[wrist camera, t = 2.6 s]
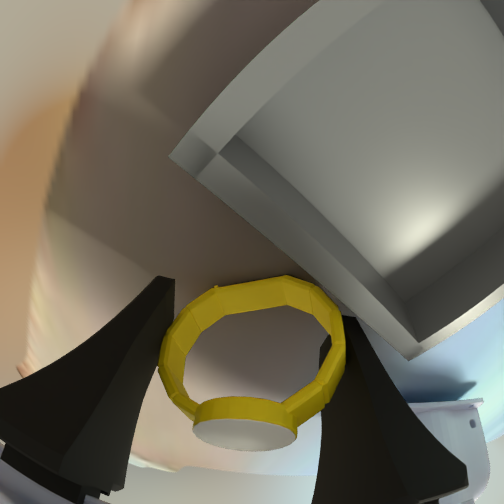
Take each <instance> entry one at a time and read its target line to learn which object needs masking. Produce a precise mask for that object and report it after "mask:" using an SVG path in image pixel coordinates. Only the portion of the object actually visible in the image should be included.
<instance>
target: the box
mask: <svg viewBox="0 0 504 504" xmlns="http://www.w3.org/2000/svg"><path fill="white" fill-rule="evenodd" d="M168 157H169V158H170V159H171V160H172V161H174V162H175V163H176V164H177V165H179V166H180V167H181V168H182V169H184V170H185V171H186V172H187V173H189V174H190V175H191V176H192V177H193V178H195V179H196V180H197V181H198V182H200V183H201V184H202V185H203V186H205V187H206V188H207V189H208V190H209V191H211V192H212V193H213V194H214V195H216V196H217V197H218V198H219V199H220V200H222V201H223V202H224V203H225V204H226V205H228V206H229V207H230V208H231V209H233V210H234V211H235V212H236V213H237V214H239V215H240V216H241V217H242V218H243V219H245V220H246V221H247V222H248V223H249V224H251V225H252V226H253V227H254V228H255V229H257V230H258V231H259V232H260V233H261V234H263V235H264V236H265V237H266V238H267V239H269V240H270V241H271V242H272V243H273V244H274V245H276V246H277V247H278V248H279V249H280V250H282V251H283V252H284V253H285V254H286V255H287V256H289V257H290V258H291V259H292V260H293V261H295V262H296V263H297V264H298V265H299V266H300V267H302V268H303V269H304V270H305V271H306V272H307V273H309V274H310V275H311V276H312V277H313V278H314V279H316V280H317V281H318V282H319V283H320V284H321V285H323V286H324V287H325V288H326V289H327V290H328V291H330V292H331V293H332V294H333V295H334V296H335V297H336V298H338V299H339V300H340V301H341V302H342V303H343V304H345V305H346V306H347V307H348V308H349V309H350V310H351V311H353V312H354V313H355V314H356V315H357V316H358V317H359V318H361V319H362V320H363V321H364V322H365V323H366V324H367V325H368V326H370V327H371V328H372V329H373V330H374V331H375V332H376V333H378V334H379V335H380V336H381V337H382V338H383V339H384V340H385V341H387V342H388V343H389V344H390V345H391V346H392V347H393V348H394V349H396V350H397V351H398V352H399V353H400V354H401V355H402V356H403V357H404V358H406V359H407V360H408V361H410V360H412V359H413V358H415V357H417V356H419V355H420V354H422V353H424V352H426V351H427V350H429V349H431V348H432V347H434V346H436V345H437V344H439V343H440V342H442V341H444V340H445V339H447V338H448V337H450V336H451V335H453V334H454V333H456V332H458V331H459V330H461V329H462V328H463V327H465V326H466V325H468V324H469V323H471V322H472V321H474V320H475V319H476V318H478V317H479V316H480V315H482V314H483V313H485V312H486V311H487V310H489V309H490V308H491V307H493V306H494V305H495V304H496V303H498V302H499V301H500V300H501V299H503V298H504V0H319V1H318V2H317V3H315V4H314V5H313V6H312V7H310V8H309V9H308V10H307V11H305V12H304V13H303V14H302V15H301V16H299V17H298V18H297V19H296V20H295V21H294V22H292V23H291V24H290V25H289V26H288V27H287V28H286V29H285V30H283V31H282V32H281V33H280V34H279V35H278V36H277V37H276V38H275V39H274V40H272V41H271V42H270V43H269V44H268V45H267V46H266V47H265V48H264V49H263V50H262V51H261V52H260V53H259V54H258V55H257V56H256V57H255V58H254V59H253V60H252V61H251V62H250V63H249V64H248V65H247V66H246V67H245V68H244V69H243V70H242V71H241V72H240V73H239V74H238V75H237V76H236V77H235V78H234V79H233V80H232V81H231V82H230V84H229V85H228V86H227V87H226V88H225V89H224V90H223V91H222V92H221V93H220V94H219V96H218V97H217V98H216V99H215V100H214V101H213V102H212V103H211V105H210V106H209V107H208V108H207V109H206V110H205V112H204V113H203V114H202V115H201V116H200V117H199V119H198V120H197V121H196V122H195V123H194V125H193V126H192V127H191V128H190V130H189V131H188V132H187V133H186V134H185V136H184V137H183V138H182V139H181V141H180V142H179V143H178V145H177V146H176V147H175V148H174V150H173V151H172V152H171V154H170V155H169V156H168Z"/></svg>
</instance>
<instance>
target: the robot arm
mask: <svg viewBox="0 0 504 504" xmlns="http://www.w3.org/2000/svg"><path fill="white" fill-rule="evenodd" d="M174 296H175V279H171V278H167V277H163V276H157V277H155V278H154V279H153V280H152V282H151V283H150V284H149V285H148V286H147V287H146V288H145V289H144V290H143V291H142V292H141V293H140V294H139V295H138V296H137V297H136V298H135V299H134V300H133V301H132V302H130V303H129V304H128V305H127V306H126V307H125V308H124V309H123V310H122V311H121V312H120V313H119V314H118V315H116V316H115V317H114V318H113V319H112V320H111V321H109V322H108V323H107V324H106V325H105V326H104V327H102V328H101V329H100V330H99V331H98V332H96V333H95V334H94V335H93V336H91V337H90V338H89V339H87V340H86V341H85V342H83V343H82V344H81V345H79V346H78V347H76V348H75V349H73V350H72V351H70V352H69V353H67V354H66V355H64V356H63V357H61V358H60V359H58V360H56V361H55V362H53V363H51V364H50V365H48V366H46V367H44V368H42V369H40V370H39V371H37V372H35V373H33V374H31V375H29V376H27V377H25V378H23V379H21V380H18V381H16V382H14V383H11V384H9V385H7V386H4V387H2V388H0V439H1V440H2V441H4V442H5V443H6V444H5V446H4V445H3V444H1V443H0V504H110V503H107V502H105V501H102V500H100V499H99V497H100V493H102V494H104V495H107V496H109V495H110V491H111V490H112V491H119V490H121V489H123V488H124V484H125V477H126V471H127V465H128V460H129V455H130V450H131V445H132V441H133V437H134V432H135V428H136V424H137V420H138V417H139V413H140V409H141V406H142V402H143V399H144V396H145V393H146V391H147V388H148V386H149V383H150V381H151V378H152V376H153V374H154V371H155V369H156V367H157V364H158V359H159V353H160V348H161V344H162V341H163V338H164V336H166V332H167V329H168V328H169V327H170V325H171V324H172V323H173V320H174ZM341 316H342V322H343V329H344V335H345V344H346V365H345V371H344V373H343V375H342V377H341V379H340V381H339V384H338V386H337V388H336V390H335V392H334V394H333V396H332V398H331V400H330V402H329V403H327V404H325V408H324V409H322V410H321V419H322V436H321V448H320V458H319V466H318V473H317V479H316V484H315V490H314V495H313V499H312V503H311V504H474V501H476V500H477V498H479V497H480V496H481V494H482V493H483V492H484V490H485V488H486V486H487V483H488V480H489V476H490V463H489V457H488V452H487V447H486V442H485V437H484V433H483V429H482V425H481V421H480V417H479V413H478V410H477V408H478V407H479V406H481V405H482V404H483V403H484V400H483V398H476V399H468V400H457V401H445V402H427V403H406V401H405V400H404V398H403V397H402V396H401V394H400V393H399V391H398V390H397V388H396V386H395V385H394V383H393V382H392V380H391V379H390V377H389V375H388V374H387V372H386V370H385V369H384V367H383V365H382V363H381V362H380V360H379V358H378V356H377V355H376V353H375V351H374V349H373V348H372V346H371V344H370V342H369V340H368V339H367V337H366V335H365V333H364V331H363V329H362V328H361V326H360V324H359V322H358V321H357V319H356V317H350V316H345V315H341ZM331 347H332V339H331V336H330V334H329V335H328V336H327V338H326V340H325V341H324V343H323V344H322V346H321V347H320V358H319V370H320V368H321V366H322V364H323V362H324V360H325V358H326V357H327V355H328V353H329V351H330V349H331Z"/></svg>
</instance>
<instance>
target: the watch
mask: <svg viewBox="0 0 504 504" xmlns="http://www.w3.org/2000/svg"><path fill="white" fill-rule="evenodd" d="M284 305H289V306H292V307H294V308H297V309H299V310H302V311H304V312H307V313H310V314H312V315H314V316H315V318H316V319H317V320H318V321H319V322H320V324H321V325H322V326H323V327H324V328H325V330H326V331H327V332H328V333H329V334H330V336H331V339H332V347H331V349H330V351H329V353H328V355H327V357H326V358H325V360H324V362H323V364H322V366H321V368H320V370H319V372H318V374H317V376H316V377H315V379H314V380H313V381H312V382H311V383H309V384H308V385H306V386H305V387H304V388H302V389H301V390H299V391H298V392H296V393H295V394H294V395H292V396H291V397H289V398H288V399H286V400H285V401H283V402H282V403H278V402H274V401H271V400H267V399H261V398H254V397H235V396H231V397H221V398H214V399H211V400H208V401H205V402H203V403H202V404H198V403H196V402H195V401H193V400H191V399H190V398H189V396H188V394H187V392H186V390H185V388H184V386H183V376H184V367H185V358H186V357H185V356H186V355H187V354H188V352H189V351H190V349H191V348H192V346H193V344H194V343H195V341H196V340H197V338H198V337H199V335H200V334H201V332H203V331H204V330H205V329H207V328H208V327H209V326H211V325H212V324H214V323H215V322H216V321H218V320H219V319H220V318H222V317H223V316H225V315H229V314H236V313H242V312H249V311H255V310H261V309H266V308H272V307H278V306H284ZM345 365H346V344H345V335H344V329H343V322H342V316H341V311H339V307H338V306H337V305H336V304H335V303H334V302H333V301H332V300H331V299H330V298H329V297H328V296H327V295H326V293H325V292H324V291H323V290H322V289H321V288H320V287H318V286H315V284H313V283H309V282H306V281H303V280H300V279H297V278H294V277H291V276H288V275H284V276H279V277H273V278H268V279H263V280H257V281H252V282H246V283H241V284H235V285H230V286H224V287H218V285H217V286H214V288H211V289H209V290H208V291H206V292H205V293H204V294H202V295H201V296H199V297H198V298H196V299H195V300H193V301H192V302H190V303H189V304H188V305H186V307H185V308H183V309H182V310H181V312H180V313H179V315H178V316H177V317H176V319H175V320H174V321H173V323H172V324H171V325H170V327H169V328H168V329H167V332H166V336H164V338H163V341H162V344H161V348H160V353H159V359H158V364H157V366H158V367H159V368H158V373H159V375H160V378H161V380H162V382H163V385H164V387H165V390H166V392H167V394H168V397H169V398H170V399H171V400H172V401H173V403H174V404H175V405H176V406H177V407H178V408H179V409H180V410H181V411H182V412H183V413H184V414H185V415H186V416H187V417H188V418H189V419H190V420H192V421H194V424H193V433H194V434H195V435H196V437H198V438H199V439H201V440H202V441H204V442H206V443H209V444H212V445H214V446H218V447H222V448H226V449H231V450H239V451H269V450H274V449H279V448H283V447H285V446H288V445H290V444H291V443H292V442H294V441H295V440H296V438H297V427H298V426H300V425H301V424H303V423H304V422H306V421H307V420H308V419H310V418H311V417H313V416H314V415H315V414H317V413H318V412H320V411H321V410H322V409H324V408H325V404H327V403H329V402H330V400H331V398H332V396H333V394H334V392H335V390H336V388H337V386H338V384H339V381H340V379H341V377H342V375H343V373H344V371H345Z"/></svg>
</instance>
